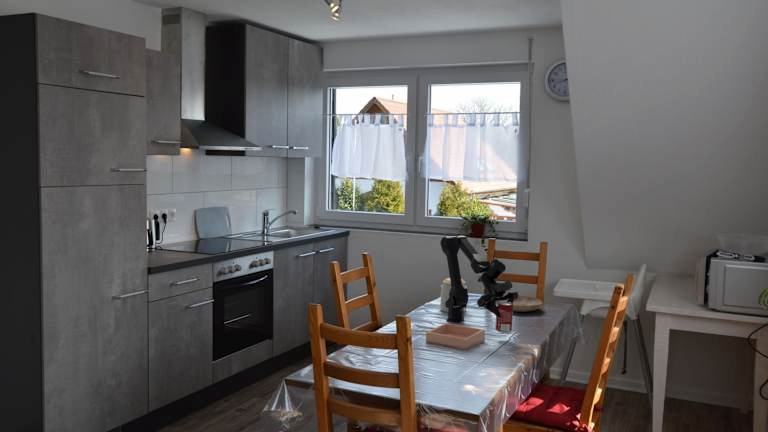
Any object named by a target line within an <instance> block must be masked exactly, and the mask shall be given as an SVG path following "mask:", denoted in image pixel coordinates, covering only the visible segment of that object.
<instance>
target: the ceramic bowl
mask: <svg viewBox="0 0 768 432" xmlns="http://www.w3.org/2000/svg"><path fill="white" fill-rule="evenodd" d="M506 295H507V294H503V296H506ZM518 295H519V294H518ZM499 302H504V301H496V306H498V304H499ZM542 305H543V301H542V300H541V299H539V298H535V297H533V296H528V295H519V297H518V298H517V299H516V300H515V301H514V302H513V312H518V313H525V312H533V311H535V310H538V309H540V308H541V307H542Z"/></svg>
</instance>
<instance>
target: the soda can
mask: <svg viewBox="0 0 768 432" xmlns="http://www.w3.org/2000/svg"><path fill="white" fill-rule="evenodd" d="M496 306H497V308H498V310H499V312H500V315H501V317H500V318H499V317H497V316H496V315H495V328H494V329H495V331H497V332H498V333H502V334H509V333H510V332H512V331H513V316H514V315H513V312H514V311H513V307H512V303H509V302H499V304H498V305H496Z"/></svg>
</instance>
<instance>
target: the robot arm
mask: <svg viewBox="0 0 768 432" xmlns="http://www.w3.org/2000/svg"><path fill="white" fill-rule="evenodd" d="M440 246H441V250H442V252H443V253H444V255H445V256H446V260H447V267H448V273H449V278H450V281H451V289H450V292H449V299H448V300H447V301H446V302H445V306H446V308H448V312H447V319H446V321H447V322H451V323H458V324H460V323H462V322H464V321H465V312H464V311H463V308H466V309H467V307H466V306H467V305H468V302H469V292H468V287H467V288H464V287H463V286H462V281H461V279H462V276H461V270H460V263H459V256H458V254H459V251H460V250H461V251H462V253H463V254H464V255H465V256H466V258H467V259H468V260H469V262H470V268H471V269H472V270H473V272H474V273H475V274H481V275H479V276H478V280H477V282H478V283H482V285H483V288H484V289H485V290H484V293H485V294H482V295H481V296H480V297H479V298H478V300H477V301H476V304H477V306H478V308H484V309H486V310H488V311H489V312H490V313H492V314H493V315H495V317H496V316H497V317H499V318H500V317H501V315H500V312H499V310H498V308H497V306H498V305H497V304H496V301H504V302H509V303H512V307H513V302H514V301H515V300H516V299H517V298H518V297H519V293H518V292H517V291H516V290H515V291H510V290H511V288H513V283H512V282H511V280H506V281H504V282H498V281H497V280H498V279H499V278H500V277H501V276H502V275H503V274H504V272H505V271H506V269H507V268H506V267H507V266H506V265H505V264H504V263H503V262H502V261H500V260H499V259H498V258H493V259H492V261H491V262H490V260H488V259H487V258H486V257H485V256H483V255H480V254H479V253H478V251H477V249H475V247H474V246H473V245H472V244H471V243H470V242H469V240H468V237H467V236H465V235H454V236H453V235H452V236H443V237H442V238H441V240H440ZM507 291H508V293H507ZM503 295H506V296H503ZM514 314H515V311H513V316H514Z"/></svg>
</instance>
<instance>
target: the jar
mask: <svg viewBox="0 0 768 432" xmlns="http://www.w3.org/2000/svg"><path fill="white" fill-rule="evenodd" d="M461 281H462V286H463V287H464V288H467V289H468V286H467V285H466V283H467V282H466V281H465V280H464V279H463V278H461ZM440 288H441V291H440V304H439V307H440V311H442V312H444V313H448V308H446V306H445V302H446V301H447V300H448V299H449V292H450V289H451V281H450V277H448V278H445V279H443V280H442V284H440ZM463 311H464V313H465V312H466V311H467V306H466V308H463Z"/></svg>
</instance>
